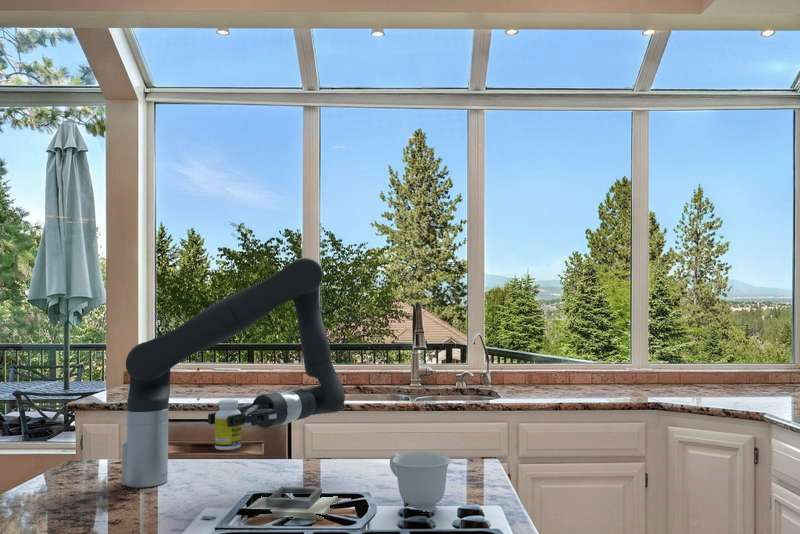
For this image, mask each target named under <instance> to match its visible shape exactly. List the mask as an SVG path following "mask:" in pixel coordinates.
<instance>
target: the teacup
mask: <svg viewBox="0 0 800 534" xmlns="http://www.w3.org/2000/svg"><path fill="white" fill-rule="evenodd" d="M451 462H452V459H451V458H450V457H449V456H448V455H445V454H442V453H436V452H426V451H425V452H424V451H422V452H421V451H420V452H419V451H418V452H406V453H402V454H399V453H394V454H392V455H391V457H390V458H389V466H390V467H389V468H390V470H391V472H392V474H393V475H394V476H395V477H396V478H397V485H398V491H399V496H400V497H401V500H403V501H404V502H405V503H406V504H408V507H414V508H416V509H419V510H422V511H423V512H425V511H430V513H432V512H435V511H436V510H437V505H436V504H438V503H439V502H440V501H442V500H443V497H444V495H445V492H446V485H447V483H446V482H447V472H448V468H449V464H450V463H451ZM408 507H407V508H408Z"/></svg>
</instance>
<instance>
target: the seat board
mask: <svg viewBox="0 0 800 534" xmlns="http://www.w3.org/2000/svg"><path fill="white" fill-rule="evenodd" d="M266 493H273V494H272V495H271V496H269V497H262V496H261V498H260V497H259V498H258V499H256V500H255V501H254V502H252V503H251V504H250V505H249V506H247V507H246V508H264V509H271V510H270V511H271V512H272V513H273V514H261V515H258V516H255V517H256V518H272V519H273V518H279V519H281V518H280V517H284V516H291V517H293V518H292V519H295V518H302V520H316V521H317V520H318V521H319V520H320V521H322V520H324V519H325V518H324V517H322V516H319V515H316V514H321V515H322V514H327V515H328V514H329V513H330V512H331V511H332V510H333V508H330V505H331V504H333V503H336V502H338V501H340V500H341V499H339V498H338V496H333V497H321V498H320V495H321V493H337V491H335V492H333V491H330V492H329V491H323V488H321V487H300V486H299V487H298V486H296V487H295V486H281V487H279V488H278V489H270V490H268V491H267V492H266ZM283 493H289V494H290V493H300V494H311V495H310V496H309V497H293V498H294V499H289V498H282V497H281V495H282V494H283ZM338 503H339V502H338Z"/></svg>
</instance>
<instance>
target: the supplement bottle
mask: <svg viewBox="0 0 800 534" xmlns="http://www.w3.org/2000/svg"><path fill="white" fill-rule="evenodd" d="M238 406H239V400H238V399H232V398H231V399H222V400H219V401H218V409H220V410H219V411H218V410H217V411H216V414H215V424H214V448H215V449H216V450H221V451H225V450H227V451H228V450H235V449H238V448H240V447H242V425H238V426H234V427H228V426H227V417H228V416H231V415H236V414H241V412H240V411H239V410H237V407H238Z"/></svg>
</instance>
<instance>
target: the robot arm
mask: <svg viewBox="0 0 800 534" xmlns="http://www.w3.org/2000/svg"><path fill="white" fill-rule="evenodd" d="M322 281H323V268H322V266H321V265H320V264H319V262H317V261H316V260H315V259H314V258H313V259H312V258H311V257H299V258H297V259H294V260H293V261H291V262H290V263H288V264H287V265H286V266H284V267H283V268H282V269H280V270H279V271H277V272H276V273H274V274H272V275H271V276H270V277H268V278H266V279H264V280H263V281H261V282H259V283H255V284H253V285H251V286H248V287H245V288H244V289H241V290H239V291H237V292H235V293H233V294H231V295H228V296H227V297H225V298H222V299H221V300H219V301H217V302H215V303H213V304H211V305H210V306H208V307H206V308H205V309H203V310H202V311H200V312H199V313H197V314H195V315H194V316H192V317H191V318H190V319H188V320H186V321H185V322H184V323H182V324H181V325H179V326H178V327H176V328H174V329H172V330H171V331H169V332H167V333H166V332H165V333H164V334H162V335H160V336H157V337H155V338H152V339H150V340H147V341H144V342H140V343H139V344H136V345H135V346H134V347H132V349H130V351H129V352H128V354H127V355H126V356H127V357H126V360H125V369H126V372H127V374H128V375H129V390H128V397H127V400H126V401H127V402H126V441H125V442H123V444H122V448H121V449H122V452H121V455H122V457H121V486H127V487H129V488H150V487H156V486H160V485H162V484H165V483H166V482H168V475H169V471H168V467H169V466H168V465H169V464H168V463H169V459H168V458H169V406H170V405H169V404H170V394H171V393H170V392H171V369H172V368H173V367H175V366H176V365H179V363H181V362H182V361H184V360H186V359H188V358H189V357H190V356H193V355H195V354H197V353H199V352H202V351H204V350H207V349H209V348H212V347H214V346H216V345H218V344H220V343H222V342H225V341H227V340H228V339H231V338H233V337H234V336H236V335H238V334H239V333H242V332H243V331H245V330H247V329H248V328H250V327H252V326H253V325H255V324H256V323H258V322H259V321H261V319H264V318H265V317H266V316H267V315H269V314H270V313H271V312H273V311H274V310H275V309H276V308H278V307H280V306H281V305H283V304H286V303H288V302H290V301H292V302H293V304H294V308H295V313H296V316H297V317H296V319H297V323H298V329H299V336H300V345H301V354H302V359H303V365H304V370H305V374H306V375H307V376H308V377H309V378H316V379H317V380H318V382H319V385H317V386H309V387H307V388H303V389H302V388H300V389H294V390H283V391H276V392H270V393H265V394H260V395H257V396H256V397H255V399H253V402H252V403H245V404H243V405H238V407H237V410H239V411H240V412H241V414H236V415H231V416H228V417H227V426H228V427H234V426H238V425H241V426H254V427H255V426H258V427H259V428H261V429H269V428H274V427H278V426H282V425H286V424H290V423H291V422H294V421H297V420H303V419H306V418H308V417H310V416H315V415H322V414H325V415H326V414H333V413H338V412H339V411H341V410H342V409H343V407H344V405H345V401H346V394H345V389H344V388H343V385H342V383H341V380H340V379H339V375H338V373H337V372H336V370H335V367H334V365H333V360H332V353H331V352H332V351H331V348H330V344H329V343H330V342H329V338H328V335H327V331H326V327H325V324H324V320H323V315H322V312H321V305H320V286H321V285H322ZM219 410H220V408H218V410H217V411H216V412H218V411H219ZM216 412H211V413H209V414H208V415H207V424H208V425H215V414H216Z"/></svg>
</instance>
